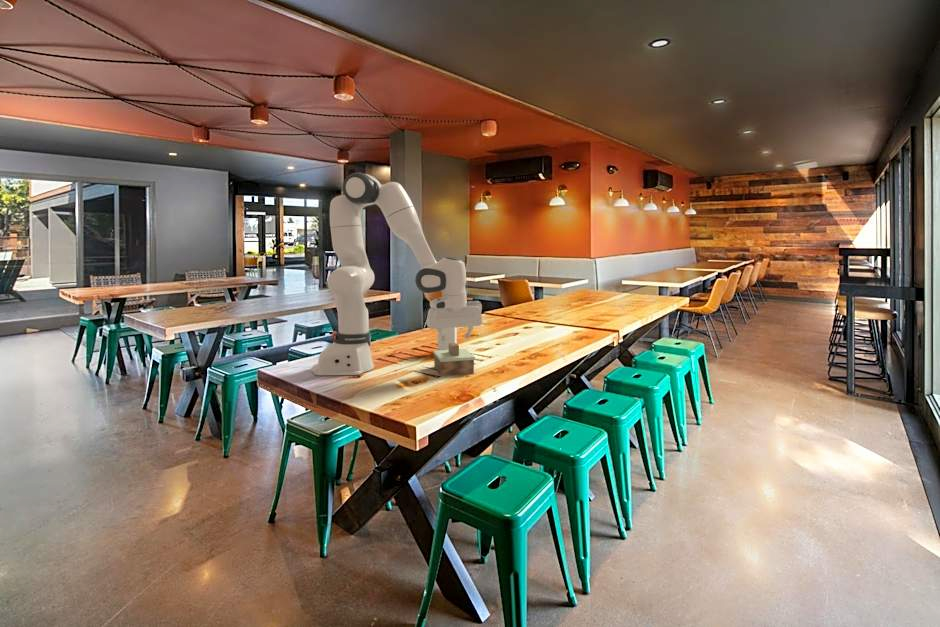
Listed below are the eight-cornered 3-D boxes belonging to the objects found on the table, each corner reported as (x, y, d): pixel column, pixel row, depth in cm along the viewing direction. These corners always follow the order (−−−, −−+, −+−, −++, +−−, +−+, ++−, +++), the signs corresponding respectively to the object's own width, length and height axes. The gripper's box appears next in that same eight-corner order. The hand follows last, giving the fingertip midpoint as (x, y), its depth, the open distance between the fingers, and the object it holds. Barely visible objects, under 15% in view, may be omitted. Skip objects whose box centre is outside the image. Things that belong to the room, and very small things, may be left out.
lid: (440, 361, 173) (440, 349, 173) (433, 353, 185) (433, 341, 185) (474, 359, 177) (475, 347, 176) (465, 351, 189) (465, 339, 188)
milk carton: (456, 352, 211) (457, 309, 208) (454, 356, 204) (454, 311, 201) (440, 352, 212) (440, 308, 209) (437, 356, 205) (437, 311, 202)
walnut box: (441, 377, 175) (441, 361, 174) (434, 368, 186) (434, 353, 185) (473, 375, 178) (473, 359, 177) (464, 366, 190) (464, 351, 189)
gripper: (479, 299, 184) (479, 335, 186) (425, 302, 178) (426, 339, 180) (484, 301, 178) (484, 338, 180) (429, 304, 172) (430, 343, 174)
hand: (455, 339), depth 180 cm, fingers open, 8 cm apart
